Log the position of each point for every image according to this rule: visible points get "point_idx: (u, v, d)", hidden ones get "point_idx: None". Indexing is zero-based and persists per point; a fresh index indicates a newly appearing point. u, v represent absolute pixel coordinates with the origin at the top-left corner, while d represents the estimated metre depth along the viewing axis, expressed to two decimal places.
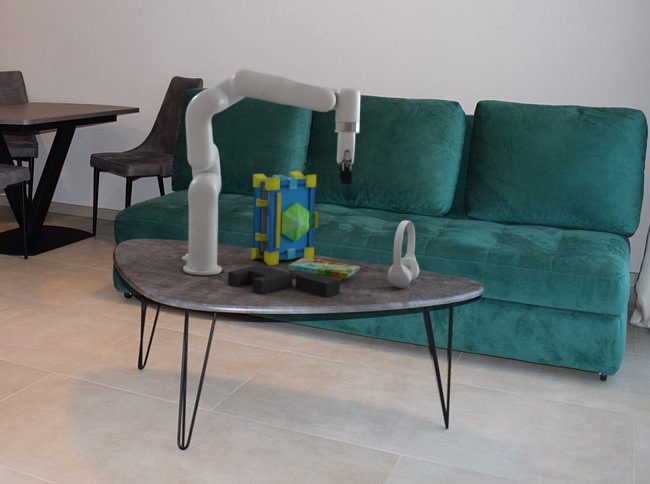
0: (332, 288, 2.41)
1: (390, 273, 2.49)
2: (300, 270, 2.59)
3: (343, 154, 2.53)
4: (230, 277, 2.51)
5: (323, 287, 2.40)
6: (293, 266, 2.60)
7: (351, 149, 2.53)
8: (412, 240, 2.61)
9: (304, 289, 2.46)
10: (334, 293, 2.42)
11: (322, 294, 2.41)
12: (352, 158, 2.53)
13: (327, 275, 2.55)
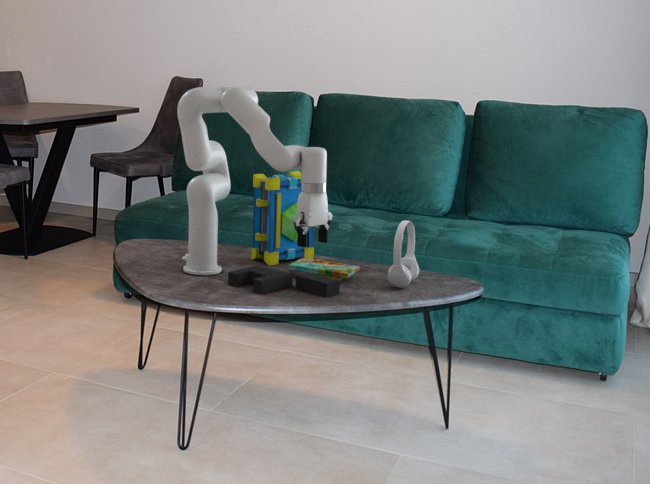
0: (332, 288, 2.41)
1: (390, 273, 2.49)
2: (300, 270, 2.59)
3: None
4: (230, 277, 2.51)
5: (323, 287, 2.40)
6: (293, 266, 2.60)
7: (305, 212, 2.42)
8: (412, 240, 2.61)
9: (304, 289, 2.46)
10: (334, 293, 2.42)
11: (322, 294, 2.41)
12: (306, 221, 2.42)
13: (327, 275, 2.55)
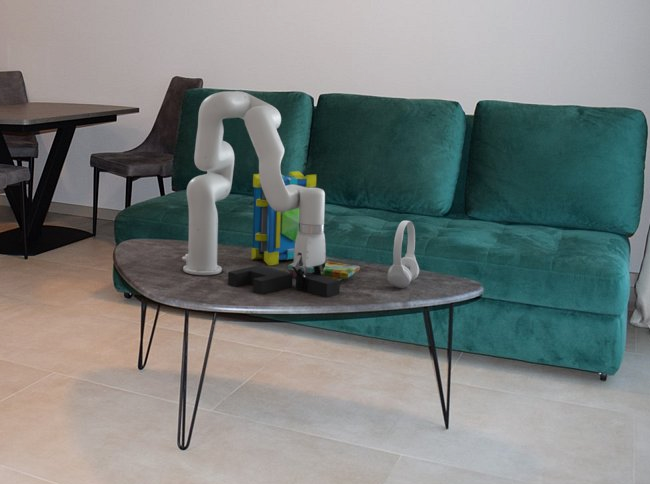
0: (332, 288, 2.41)
1: (390, 273, 2.49)
2: None
3: (296, 256, 2.45)
4: (230, 277, 2.51)
5: (323, 287, 2.40)
6: None
7: (303, 253, 2.43)
8: (412, 240, 2.61)
9: None
10: (334, 293, 2.42)
11: (322, 294, 2.41)
12: (304, 262, 2.43)
13: (327, 275, 2.55)
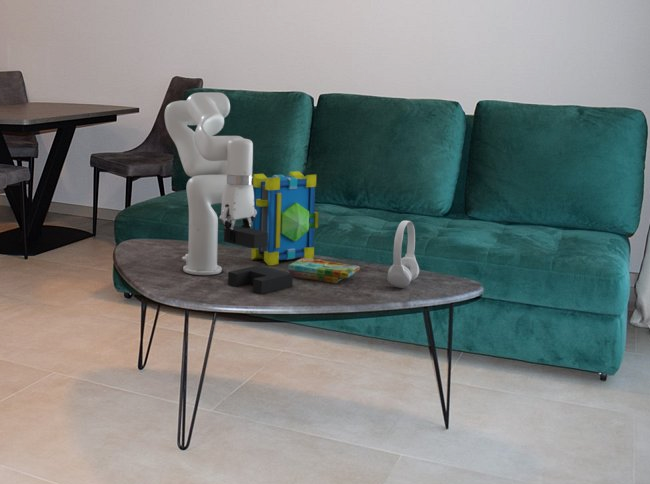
0: (260, 239, 2.36)
1: (390, 273, 2.49)
2: (300, 270, 2.59)
3: (224, 208, 2.39)
4: (230, 277, 2.51)
5: (250, 238, 2.35)
6: (293, 266, 2.60)
7: (230, 204, 2.38)
8: (412, 240, 2.61)
9: None
10: (262, 245, 2.37)
11: (249, 246, 2.36)
12: (231, 213, 2.38)
13: (327, 275, 2.55)
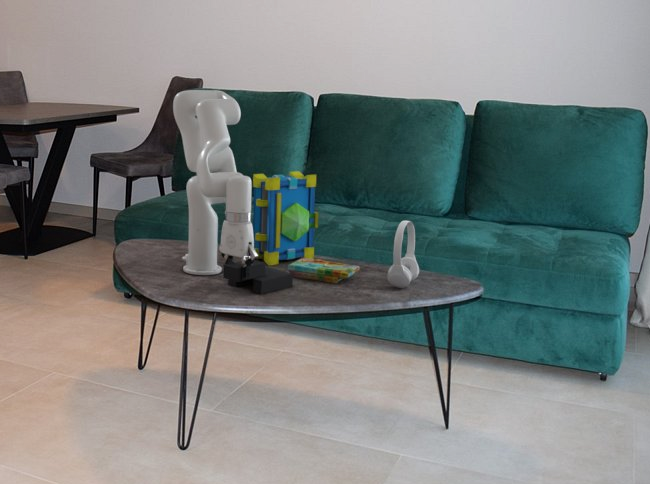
0: None
1: (390, 273, 2.49)
2: (300, 270, 2.59)
3: (247, 247, 2.38)
4: None
5: (262, 267, 2.46)
6: (293, 266, 2.60)
7: (252, 241, 2.40)
8: (412, 240, 2.61)
9: None
10: None
11: (261, 275, 2.46)
12: None
13: (327, 275, 2.55)
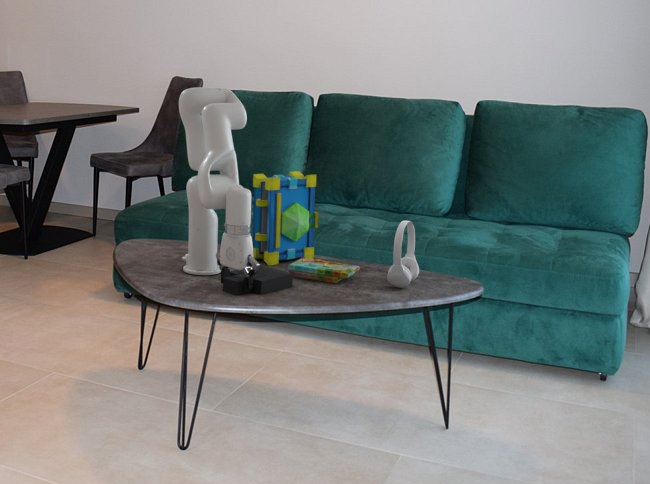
0: None
1: (390, 273, 2.49)
2: (300, 270, 2.59)
3: (246, 259, 2.39)
4: None
5: None
6: (293, 266, 2.60)
7: (252, 253, 2.40)
8: (412, 240, 2.61)
9: (245, 291, 2.42)
10: None
11: None
12: None
13: (327, 275, 2.55)
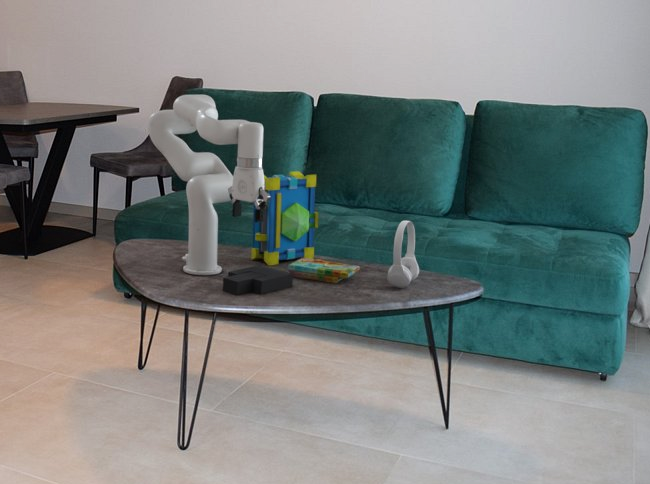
0: None
1: (390, 273, 2.49)
2: (300, 270, 2.59)
3: (258, 192, 2.43)
4: None
5: None
6: (293, 266, 2.60)
7: (263, 186, 2.44)
8: (412, 240, 2.61)
9: (245, 291, 2.42)
10: None
11: None
12: None
13: (327, 275, 2.55)
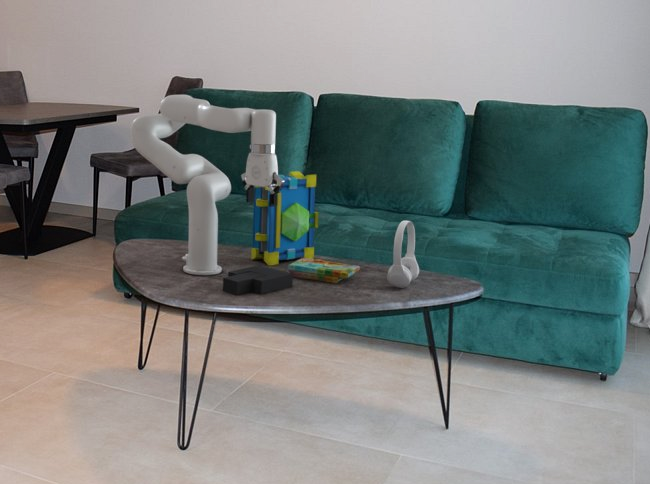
0: None
1: (390, 273, 2.49)
2: (300, 270, 2.59)
3: (272, 177, 2.49)
4: None
5: None
6: (293, 266, 2.60)
7: (276, 171, 2.51)
8: (412, 240, 2.61)
9: (245, 291, 2.42)
10: None
11: None
12: None
13: (327, 275, 2.55)
